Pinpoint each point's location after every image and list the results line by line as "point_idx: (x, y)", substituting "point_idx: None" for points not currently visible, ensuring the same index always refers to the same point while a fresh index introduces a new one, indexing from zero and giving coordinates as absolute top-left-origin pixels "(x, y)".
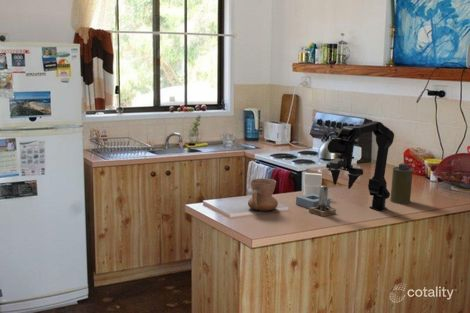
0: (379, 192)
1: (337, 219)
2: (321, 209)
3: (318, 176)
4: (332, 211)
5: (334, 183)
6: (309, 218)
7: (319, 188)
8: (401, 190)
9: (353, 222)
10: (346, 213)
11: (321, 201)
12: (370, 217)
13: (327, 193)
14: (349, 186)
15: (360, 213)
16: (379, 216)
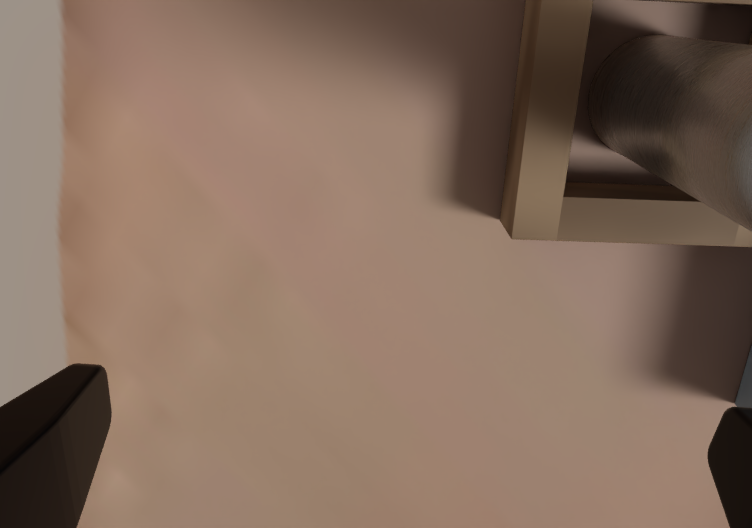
0: None
1: (297, 9)
2: (655, 46)
3: None
4: (516, 166)
5: (746, 427)
6: None
7: None
8: None
9: (74, 84)
10: (416, 334)
11: (732, 52)
12: (142, 425)
13: (747, 205)
14: (13, 409)
15: (319, 456)
16: (124, 522)
